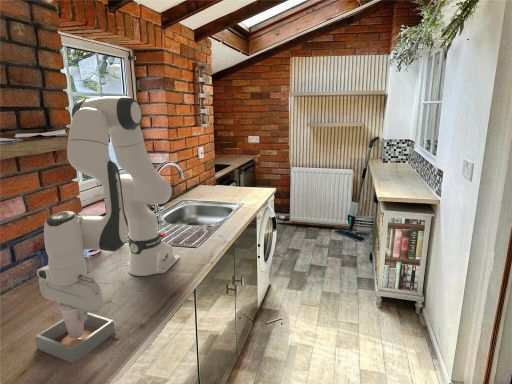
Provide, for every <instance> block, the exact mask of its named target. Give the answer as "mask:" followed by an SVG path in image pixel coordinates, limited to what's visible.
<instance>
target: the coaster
mask: <svg viewBox="0 0 512 384" xmlns="http://www.w3.org/2000/svg"><path fill="white" fill-rule="evenodd" d="M92 333H93V332H92V331H90V330H85V329H84V334H83V335H82V336H81V337H79V338H75V339H72V338H70V337H69V334H67V335H66V336H65V337H63V338H62V340H61V342H60V343H62V344H65V345H67V346H70V347H73V346H75V345H76V344H78V343H79V342H81V341H82V340H83V339H85V338H86V337H88V336H89V335H91V334H92Z"/></svg>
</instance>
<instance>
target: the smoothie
mask: <svg viewBox="0 0 512 384" xmlns="http://www.w3.org/2000/svg"><path fill="white" fill-rule="evenodd" d="M59 312H60V313H62V315H61V316H62V318H63V319H64V321H65V325H66V328H67V333H68V334H67V335H69V337H70V338H72V339H75V338H79V337H81V336H82V335H83V334H84V330H85V324H84V322H82V321H79V320H78V319H79V318H78V315H80V314H81V312H80V310H79V309H78V308H75V307H72V306H69V305H65V304H61V305H60V308H59Z"/></svg>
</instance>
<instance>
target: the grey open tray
mask: <svg viewBox="0 0 512 384" xmlns="http://www.w3.org/2000/svg"><path fill="white" fill-rule="evenodd" d="M87 317H88V318H87V320H86V321H84V326H88V327H91V328H93V329H96V330H95V331H93V332H91V333H92V334H91V335H89V336H88V337H86V338H85V339H83V340H82V341H81V342H79V343H78V344H76V345H75V346H73V347H70V346H67V345H65V344H62V343H61V342H59V341H56V339H58V338H59V337H61V336H62V335H64V334H66V333H68V331H67V328H66V325H65V321H64V318H63V319H61V320H59V321H57V322H56V323H54V324H52V325H51V326H50V327H47V328H46V329H44V330H43V331H40V332H39V333H38V334H36V335H35V336H34V337H35V338H34V339H35V343H36V348H37V349H38V350H39V351H42V352H43V353H47V354H50V355H51V356H54V357H57V358H59V359H62V360H64V361H66V362H68V363H71V364H75V363H76V362H78V361H79V360H80V359H81V358H83V357H84V356H86V355H87V354H88V353H90V352H91V351H92V350H93V349H95V348H96V347H98V346H99V345H100V344H102V343H103V342H105V340H107V339H108V338H109V337H111V336H112V335H113V334H115V332H116V330H115V321H114V320H113V319H110V318H107V317H105V316H101V315H98V314H94V313H91V312H88V313H87Z"/></svg>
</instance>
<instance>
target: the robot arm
mask: <svg viewBox="0 0 512 384" xmlns="http://www.w3.org/2000/svg"><path fill="white" fill-rule="evenodd" d="M71 118H72V119H71V123H70V126H69V131H68V138H67V146H66V157H67V160H68V163H69V164H70V165H71V167H72V168H73V169H75V170H76V171H77V172H78V173H80V174H83V175H85V176H87V177H91V178H93V179H95V180H97V181H98V182H100V184H101V186H102V187H103V191H104V201H105V211H106V212H105V213H106V214H105V215H104V216H100V215H99V216H98V215H95V216H94V215H91V216H89V215H77V213H76V212H74V211H71V210H69V211H68V210H65V211H60V212H55V213H53V214H51V215H50V216H48V217H47V218H46V219H45V221H44V224H43V226H44V227H43V240H44V241H43V242H44V247H45V249H44V250H45V252H46V254H47V257H48V262H47V265H45V266H42V267H40V268H39V269H37V270H36V276H37V277H38V284H39V289H40V294H41V295H42V297H43V299H48V300H49V301H50V300H51V301H53V302H56V305H57V307H58V309H60V305H61V304H65V305H69V306H72V307H75V308H78V309H79V310H80V312H81V314H80V315H78V318H79V319H78V320H79V321H82V322H84V321H86V320H87V318H88V317H87V313H88V312H89V313H92V314H94V313H95V312H97V311H99V310H100V309H102V307H103V305H104V298H103V294H102V289H101V287H100V284H99V283H98V282H97V281H95V279H94V278H93V277H89V276H87V275H88V273H87V271H88V270H87V263H86V257H85V255H84V251H86V250H87V251H88V250H90V251H91V250H94V251H95V250H98V251H105V252H116V251H118V250H120V249H121V248H122V247H124V245H125V244H126V243H127V241H128V247H129V250H128V262H127V273H129V274H130V275H132V276H137V277H138V276H139V277H145V276H151V275H157V274H158V275H159V274H165V273H166V272H167V271H168V270H169V269H170V268H172V267H173V265H175V263H176V262H177V261H179V259H180V255H178V254H176V253H174V249H173V247H172V246H171V244H169V243H167V242H165V241H163V240H162V239H165V237H166V233H165V232H159V228H158V217H157V215H156V213H155V212H154V211H152V210H151V209H150V208H149V207H148V205H150V206H151V205H153V206H155V205H162V204H166V203H168V201H169V200H170V198H171V196H172V192H173V191H172V190H173V189H172V185H171V182H169V180H167V178H165V177H163V176H162V175H161V174H160V173H159V172H158V170H157V169H156V168H155V167H154V164H153V163H152V161H151V160H150V157H149V155H148V151H147V147H146V144H145V143H146V142H145V140H144V136H143V132H142V129H141V125H140V124H141V122H142V108H141V106H140V104H139V101H137V100H136V99H135V98H134V97H132V96H131V97H130V96H124V95H123V96H102V97H101V96H100V97H94V98H84V99H80V100H77V101H76V102H75V103H74V105H73V107H72V110H71ZM110 141H111V145H112V148H113V152H114V156H115V159H116V162H117V164H116V163H115V162H114V161H112V159H111V157H110V152H109V147H110ZM118 166H119V167H118ZM119 168H120V169H122V170H124V171H125V172H126V173H125V174H124V173H123V174H120V170H119ZM83 250H84V251H83ZM60 313H61V312H60ZM61 316H63V315H62V313H61Z"/></svg>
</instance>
